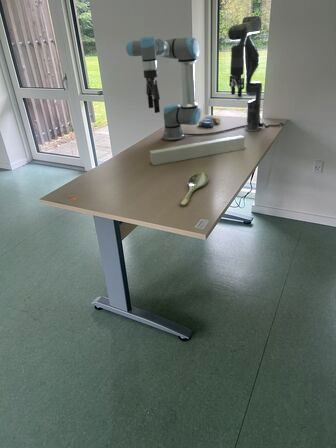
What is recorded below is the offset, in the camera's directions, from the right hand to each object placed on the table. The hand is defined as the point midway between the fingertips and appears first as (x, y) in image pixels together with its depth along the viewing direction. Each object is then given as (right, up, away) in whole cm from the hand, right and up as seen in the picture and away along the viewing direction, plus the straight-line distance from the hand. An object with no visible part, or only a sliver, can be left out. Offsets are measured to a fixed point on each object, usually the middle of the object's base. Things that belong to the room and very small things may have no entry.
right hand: (236, 95), depth 200 cm
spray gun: (-6, +5, +73) cm, 73 cm away
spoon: (-28, -60, -30) cm, 72 cm away
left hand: (-49, -12, -10) cm, 51 cm away
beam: (-21, -34, +12) cm, 42 cm away
